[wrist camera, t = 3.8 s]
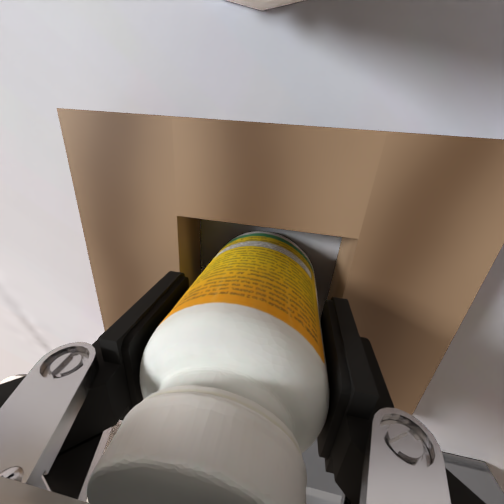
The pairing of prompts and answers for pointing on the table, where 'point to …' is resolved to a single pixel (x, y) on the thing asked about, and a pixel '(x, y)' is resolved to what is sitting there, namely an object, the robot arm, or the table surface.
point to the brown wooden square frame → (298, 216)
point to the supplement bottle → (226, 388)
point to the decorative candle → (264, 3)
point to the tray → (465, 469)
